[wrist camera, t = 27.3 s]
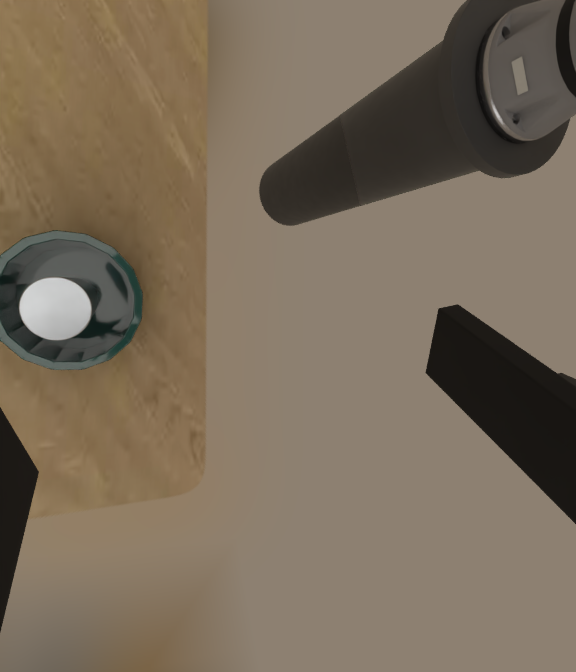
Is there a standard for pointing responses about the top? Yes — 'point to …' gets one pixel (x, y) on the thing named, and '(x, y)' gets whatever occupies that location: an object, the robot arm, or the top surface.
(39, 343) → the utensil crock
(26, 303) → the silver metal cylinder
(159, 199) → the top surface
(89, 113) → the top surface
